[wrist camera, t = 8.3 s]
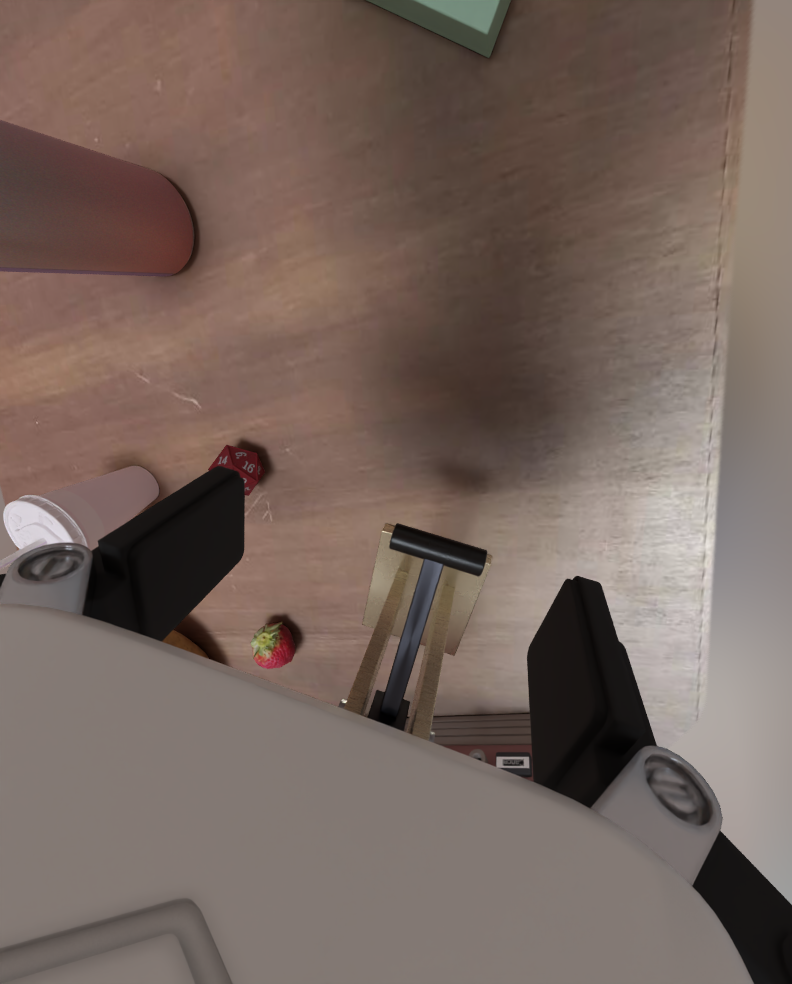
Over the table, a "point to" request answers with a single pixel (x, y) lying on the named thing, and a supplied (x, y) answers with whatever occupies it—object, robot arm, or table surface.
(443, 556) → the lever
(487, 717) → the toaster
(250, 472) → the dice
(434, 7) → the button block
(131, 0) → the table surface
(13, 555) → the smoothie
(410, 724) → the bracket
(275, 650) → the fruit
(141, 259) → the beverage can
